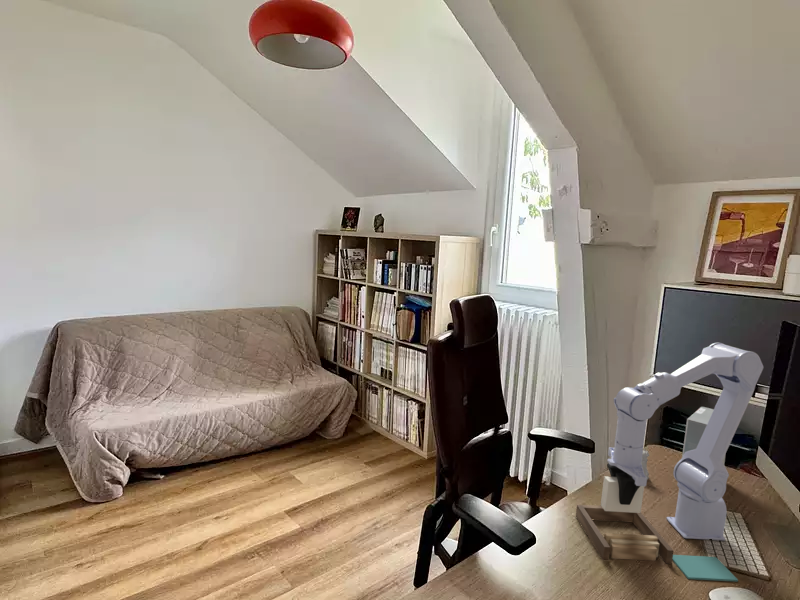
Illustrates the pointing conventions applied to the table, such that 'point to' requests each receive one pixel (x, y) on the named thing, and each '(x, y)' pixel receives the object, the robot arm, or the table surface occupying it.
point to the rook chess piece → (645, 462)
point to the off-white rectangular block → (612, 497)
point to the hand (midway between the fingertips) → (621, 500)
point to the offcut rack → (598, 513)
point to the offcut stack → (632, 546)
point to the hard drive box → (696, 429)
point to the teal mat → (703, 568)
